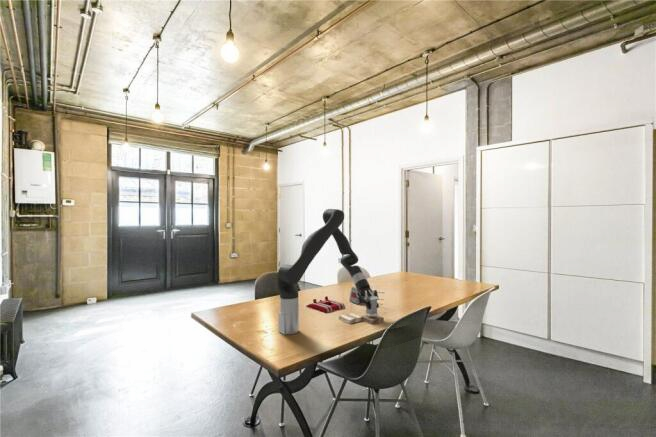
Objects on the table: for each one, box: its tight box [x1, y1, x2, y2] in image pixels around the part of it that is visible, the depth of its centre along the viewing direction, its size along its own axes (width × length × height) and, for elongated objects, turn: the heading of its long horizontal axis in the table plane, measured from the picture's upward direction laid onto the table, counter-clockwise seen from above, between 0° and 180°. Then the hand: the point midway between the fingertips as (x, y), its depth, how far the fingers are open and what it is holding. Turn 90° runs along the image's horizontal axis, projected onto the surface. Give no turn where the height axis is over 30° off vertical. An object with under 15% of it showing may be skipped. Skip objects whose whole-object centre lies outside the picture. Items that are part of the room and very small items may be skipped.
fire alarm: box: [305, 296, 346, 314], centre depth 206 cm, size 16×6×20 cm
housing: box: [364, 295, 379, 317], centre depth 178 cm, size 5×5×10 cm
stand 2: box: [360, 314, 385, 325], centre depth 178 cm, size 9×9×2 cm
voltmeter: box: [349, 286, 384, 306], centre depth 214 cm, size 27×11×10 cm, turn 59°
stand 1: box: [338, 312, 363, 324], centre depth 179 cm, size 9×9×2 cm
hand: (373, 308), depth 176 cm, fingers closed on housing, 4 cm apart
